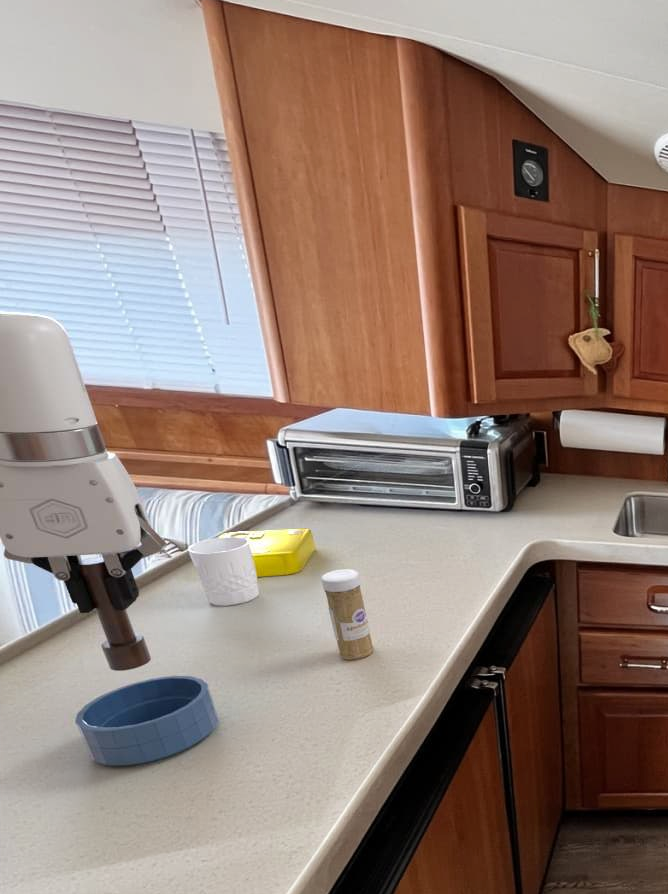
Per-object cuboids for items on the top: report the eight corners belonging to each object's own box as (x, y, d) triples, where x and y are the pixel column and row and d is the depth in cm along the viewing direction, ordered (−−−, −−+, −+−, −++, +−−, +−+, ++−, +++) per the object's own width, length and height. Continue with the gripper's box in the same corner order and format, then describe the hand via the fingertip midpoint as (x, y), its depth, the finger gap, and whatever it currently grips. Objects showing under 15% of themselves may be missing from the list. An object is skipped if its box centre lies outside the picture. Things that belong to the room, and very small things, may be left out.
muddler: (103, 673, 72) (62, 568, 67) (118, 657, 75) (80, 556, 70) (143, 668, 73) (105, 565, 68) (156, 653, 76) (121, 554, 71)
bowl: (71, 778, 71) (52, 738, 69) (120, 720, 80) (105, 683, 78) (200, 758, 75) (186, 719, 73) (232, 705, 85) (221, 669, 82)
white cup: (239, 585, 115) (224, 534, 111) (275, 592, 114) (261, 540, 110) (192, 603, 108) (174, 549, 104) (230, 610, 107) (214, 556, 103)
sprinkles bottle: (363, 661, 96) (346, 581, 91) (332, 660, 96) (313, 579, 91) (380, 646, 100) (365, 569, 95) (350, 645, 100) (333, 567, 95)
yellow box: (198, 582, 115) (191, 558, 113) (227, 552, 128) (221, 530, 126) (300, 574, 121) (294, 551, 119) (318, 546, 134) (313, 525, 132)
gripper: (-97, 453, 58) (-15, 630, 65) (137, 452, 64) (189, 613, 71) (-39, 435, 64) (30, 599, 71) (169, 436, 70) (213, 586, 77)
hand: (109, 605), depth 71 cm, fingers closed on muddler, 2 cm apart
